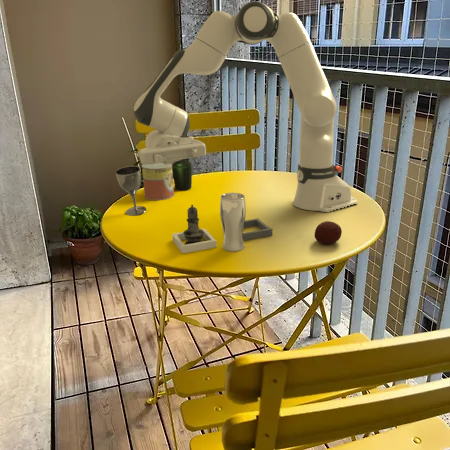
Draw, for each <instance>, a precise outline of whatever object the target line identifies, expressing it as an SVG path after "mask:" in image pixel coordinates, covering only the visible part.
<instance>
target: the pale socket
mask: <svg viewBox="0 0 450 450" xmlns="http://www.w3.org/2000/svg"><path fill="white" fill-rule="evenodd" d="M200 229H201V230H203V231H204V233H203V237H202V238H204V239H205V240H204V241H203V240H202V242H198V243H192V244H186V245H185V243H184V242H183V240H184V241H185V240H186V238H185V236H184V234H183V232H184V231H182V232H175V233H172V235H171V236H172V237H171V239H172V242H173V243H174V244H175V246H176V247H177V249H178V250H179V251H180V252H181V254H186V253H187V254H188V253H193V252H197V251H198V252H199V251H203V250H204V251H205V250H209V249H215V248H217V244H218V243H217V240H216V239H215V238H214V236H213V235H212V234H211V233H209V231H208V230H207V229H206V228H200Z"/></svg>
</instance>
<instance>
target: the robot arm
mask: <svg viewBox="0 0 450 450" xmlns="http://www.w3.org/2000/svg"><path fill="white" fill-rule="evenodd" d="M263 41H266V42H268V43H269V44H271V46H272V47H273V49H274V52H275V53H276V56H277V59H278V61H279V63H280V66H281V67H282V70H283V72H284V75H285V77H286V79H287V82H288V84H289V87H290V90H291V92H292V95H293V97H294V99H295V100H294V101H295V102H296V104H297V107H298V110H299V112H300V131H299V132H300V134H299V135H300V136H299V155H298V156H299V157H298V158H299V159H298V164H297V173H296V175H297V176H296V177H297V178H296V179H297V186H296V191H295V195H294V198H293V200H292V201H293V202H292V204H293V206H294V207H296V208H298V209H301V210H304V211H305V210H307V211H315V212H323V213H330V211H331V212H333V210H335V211H337V210H336V209H338V210H341V209H340V208H342V209H344V207H345V208H348V207H347V206H349V207H351V206H350V205H353V204H356V203H357V204H358V199H356V198H355V197H353V196H352V193H351V192H352V190H351V187H350V185H349V184H348V183H347V182H346V181H345V180H343V179H342V178H340V177H339V176H338V175H337V173H342V171H343V167H342V166H339V165H334V164H333V154H334V153H333V152H334V141H335V140H334V137H335V136H334V134H335V116H336V113H337V108H338V107H337V101H336V99H335V97H334V94H333V92H332V89H331V87H330V85H329V82H328V79H327V78H326V75H325V72H324V71H323V68H322V65H321V63H320V60H319V58H318V56H317V53H316V51H315V48H314V46H313V44H312V41H311V39H310V37H309V34H308V32H307V30H306V29H305V27H304V25H303V22H302V21H301V20H300V18H299V17H298V16H297V15H296V14H295V13H293V12H283V13H281V14H278V12H276V11H274V10H273V9H272V8H270V7H269V6H268V5H267V4H265V3H263V2H260V1H256V0H255V1H254V0H253V1H249V2H247V3H245V4H244V5H242V7H241V8H239V11H238V13H237V14H235V15H232V14H229V13H228V12H226V11H223V10H217V11H213V12H212V13H211V14H210V15H209V16H208V18H207V19H206V21H205V22H204V23H203V24H202V27H201V28H200V30H199V31H198V33H197V34H196V36H195V38H194V40H193V41H192V43H191V44H190V45H189V46H188V47H187V48H185V49H179V50H177V51H176V52H175V53H174V54H172V56H171V57H170V58H169V59H168V60H167V62H166V64H165V65H164V66H163V67H162V69H161V70H160V71H159V72H158V74H157V75H156V77H154V79H153V80H152V82H151V84H149V86H148V87H147V89H146V90H145V91H144V92H143V93H142V94H141V95H140V96H139V97H138V98H137V100H136V102H135V103H134V106H133V115H134V117H135V119H136V121H137V122H138V123H139V124H140V125H141V124H142V125H143V126H147V127H150V128H151V129H154V130H151V131H150V132H149V133H148V134H146V137H145V141H144V142H145V147H144V148H141V149H139V152H136V153H135V156H136V157H137V158H139V161H140V163H141V165H143V164H144V165H147V164H154V163H160V162H161V163H164V164H172V163H175V162H176V161H179V160H182V159H186V160H188V159H198V158H200V157H201V158H202V157H205V156H206V155H207V145H206V144H205V143H204V142H202V141H200V140H198V139H194V137H193V136H191V135H190V136H187V135H188V133H189V131H190V128H191V121H190V115H189V114H188V111H185V109H182V108H180V107H178V106H176V105H174V104H172V103H171V102H168V101H166V100H164V99H163V98H162V96H161V95H163V93H164V92H165V90H166V89H167V88H168V86H169V85H170V83H171V82H172V81H173V80H174V78H175V77H176V76H178V75H183V74H191V75H198V76H209V75H212V74H215V73H217V72H218V70H219V69H220V68H221V67H222V65H223V63H224V62H225V60H226V58H227V56H228V54H229V52H230V50H231V49H232V47H233V45H234V44H235V43H236V42H238V43H243V44H245V45H250V46H251V45H252V46H253V45H258V44H261V43H262V42H263ZM357 204H356V205H357ZM353 206H354V205H353Z"/></svg>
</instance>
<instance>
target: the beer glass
mask: <svg viewBox="0 0 450 450" xmlns="http://www.w3.org/2000/svg"><path fill="white" fill-rule="evenodd" d="M219 201H220V203H219V217H220V221H221V226H222V232H223V242H222V249H223V250H224V251H226V252H230V253H231V252H232V253H233V252H240V251H242V250H244V248H245V241H243V233H244V229H245V228H244V223H245V220H246V213H247V210H246V206H247V205H246V196H245V194H243V193H240V192H227V193H222V194H221V195H220V200H219Z"/></svg>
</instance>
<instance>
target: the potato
mask: <svg viewBox="0 0 450 450" xmlns="http://www.w3.org/2000/svg"><path fill="white" fill-rule="evenodd" d="M342 232H343V231H342V228H341V226H340V225H339V224H338V223H336V222H333V221H330V220H329V221H328V220H326V221H322V222H321V223H319V224H318V225H317V226H316V228H315V230H314V239H315V240H316V242H318V243H320V244H325V245H330V244H331V245H332V244H335V243H336V242H338V241H339V240H340V239H341V236H342V235H343V233H342Z"/></svg>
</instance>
